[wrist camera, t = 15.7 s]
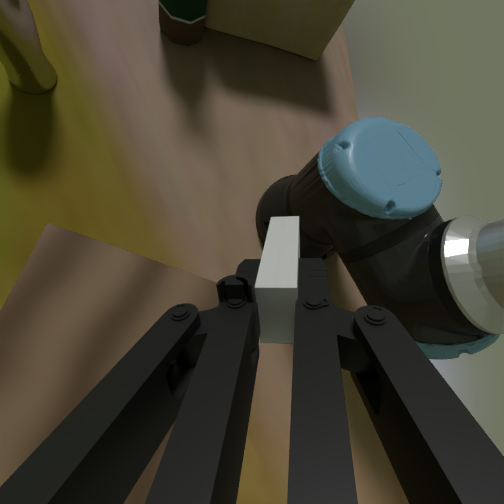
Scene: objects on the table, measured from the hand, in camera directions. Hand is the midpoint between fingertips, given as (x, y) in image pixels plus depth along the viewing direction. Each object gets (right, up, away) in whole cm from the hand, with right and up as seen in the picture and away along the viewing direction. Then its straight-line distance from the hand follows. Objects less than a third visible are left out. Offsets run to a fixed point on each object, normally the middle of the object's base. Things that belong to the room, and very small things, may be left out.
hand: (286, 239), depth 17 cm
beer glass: (-34, +25, +27) cm, 50 cm away
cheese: (0, +40, +40) cm, 57 cm away
